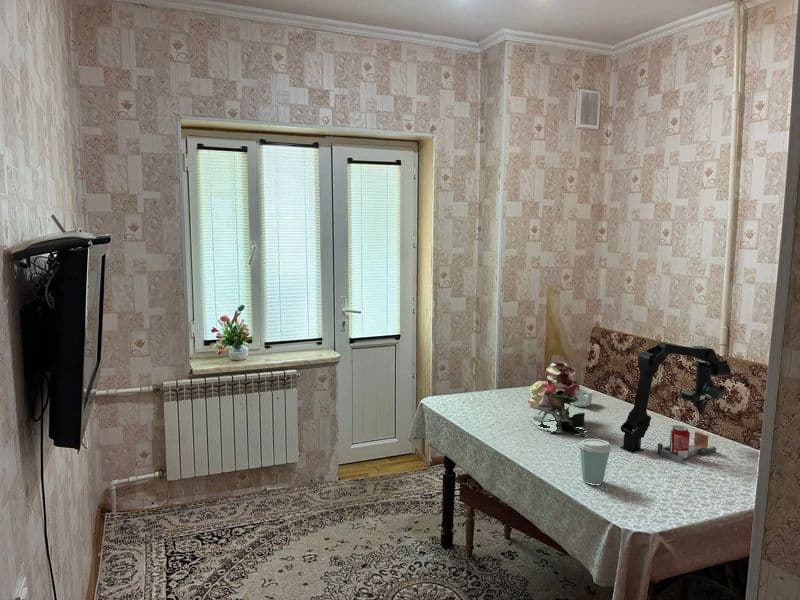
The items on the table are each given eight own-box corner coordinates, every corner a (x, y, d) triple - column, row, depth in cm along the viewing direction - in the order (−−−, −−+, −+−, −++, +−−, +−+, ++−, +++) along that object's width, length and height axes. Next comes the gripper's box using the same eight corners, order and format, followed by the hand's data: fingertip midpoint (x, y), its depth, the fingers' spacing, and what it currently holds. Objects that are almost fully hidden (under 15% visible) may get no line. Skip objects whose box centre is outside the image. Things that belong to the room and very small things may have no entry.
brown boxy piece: (690, 457, 226) (691, 439, 225) (679, 452, 231) (680, 435, 230) (707, 453, 230) (708, 435, 230) (696, 448, 235) (697, 431, 234)
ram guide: (702, 455, 229) (702, 450, 228) (689, 450, 234) (689, 445, 234) (715, 452, 232) (716, 447, 232) (702, 447, 237) (702, 442, 237)
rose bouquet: (578, 416, 277) (580, 355, 274) (593, 438, 248) (595, 369, 245) (523, 415, 279) (525, 354, 276) (532, 436, 250) (534, 368, 247)
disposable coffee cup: (571, 478, 207) (572, 438, 205) (594, 473, 211) (596, 434, 209) (592, 490, 197) (594, 448, 195) (616, 485, 201) (618, 443, 200)
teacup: (568, 402, 301) (569, 387, 301) (590, 402, 300) (590, 387, 299) (572, 410, 288) (573, 394, 287) (595, 411, 286) (596, 395, 285)
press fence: (680, 463, 220) (681, 452, 220) (657, 454, 230) (657, 443, 229) (702, 458, 226) (703, 447, 225) (679, 449, 235) (679, 438, 235)
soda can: (690, 461, 223) (692, 431, 222) (671, 459, 224) (673, 429, 223) (685, 454, 230) (687, 425, 228) (667, 453, 231) (668, 424, 229)
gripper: (706, 384, 226) (703, 422, 228) (736, 379, 235) (734, 416, 236) (681, 377, 236) (679, 414, 238) (711, 373, 244) (709, 409, 246)
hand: (701, 414), depth 239 cm, fingers closed
